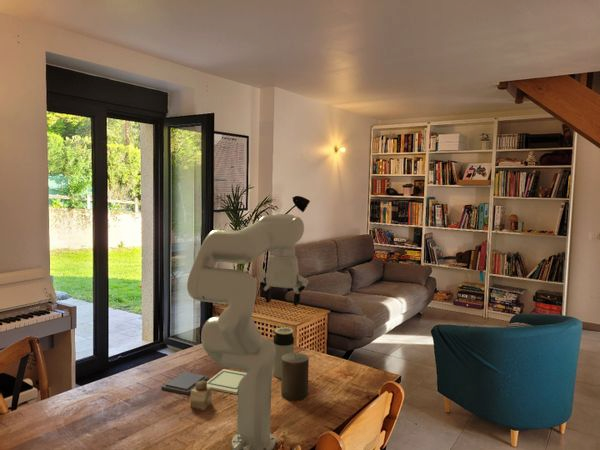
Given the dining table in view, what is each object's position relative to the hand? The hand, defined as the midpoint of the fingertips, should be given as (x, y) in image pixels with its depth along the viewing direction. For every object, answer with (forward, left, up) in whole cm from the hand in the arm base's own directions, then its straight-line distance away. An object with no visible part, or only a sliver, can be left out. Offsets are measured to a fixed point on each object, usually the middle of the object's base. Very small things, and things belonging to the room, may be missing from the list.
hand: (282, 303), depth 153 cm
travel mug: (+24, +9, -36) cm, 44 cm away
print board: (+10, +25, -36) cm, 45 cm away
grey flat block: (+2, +39, -36) cm, 53 cm away
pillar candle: (+10, -1, -36) cm, 38 cm away
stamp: (-10, +25, -36) cm, 44 cm away
